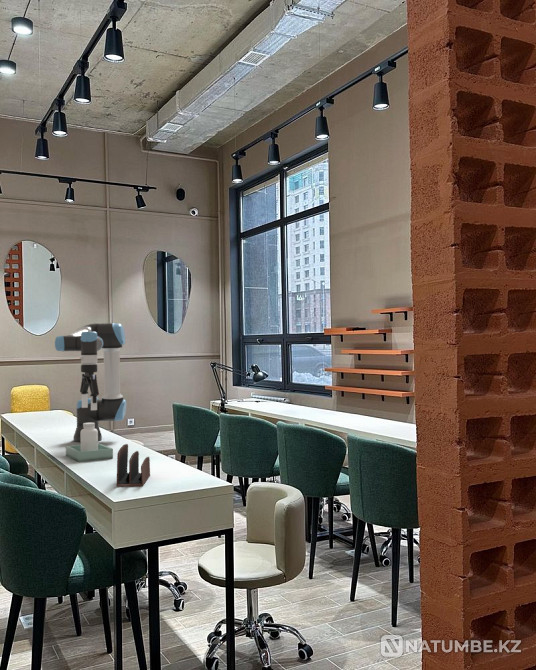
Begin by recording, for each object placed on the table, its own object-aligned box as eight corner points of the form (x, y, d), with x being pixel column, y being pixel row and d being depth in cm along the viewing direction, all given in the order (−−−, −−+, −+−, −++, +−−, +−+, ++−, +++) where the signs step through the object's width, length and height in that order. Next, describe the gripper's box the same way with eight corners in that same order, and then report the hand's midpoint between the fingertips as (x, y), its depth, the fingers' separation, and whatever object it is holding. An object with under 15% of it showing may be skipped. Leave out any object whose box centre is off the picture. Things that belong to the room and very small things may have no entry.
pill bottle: (76, 455, 305) (76, 423, 305) (89, 452, 312) (88, 421, 313) (89, 456, 302) (89, 424, 302) (101, 454, 309) (101, 422, 309)
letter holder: (116, 487, 244) (116, 449, 244) (125, 476, 263) (125, 441, 264) (143, 487, 244) (142, 449, 244) (150, 476, 264) (150, 441, 264)
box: (66, 455, 311) (66, 446, 311) (98, 452, 320) (98, 443, 320) (78, 462, 294) (78, 452, 294) (112, 458, 303) (112, 448, 303)
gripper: (73, 363, 316) (73, 407, 316) (89, 365, 295) (89, 411, 295) (88, 363, 320) (88, 406, 320) (105, 364, 299) (105, 410, 299)
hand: (89, 408), depth 308 cm, fingers open, 13 cm apart
